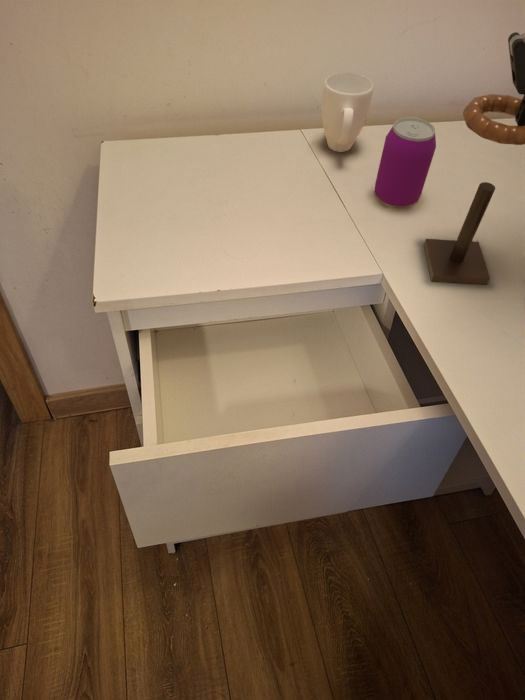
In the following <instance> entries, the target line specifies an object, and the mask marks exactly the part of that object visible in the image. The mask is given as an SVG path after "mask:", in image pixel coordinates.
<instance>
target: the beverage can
mask: <svg viewBox="0 0 525 700" xmlns="http://www.w3.org/2000/svg"><path fill="white" fill-rule="evenodd" d="M436 137H437V136H436V128H435V126H434V125H433V124H432V123H431V122H429V121H428V120H425V119H422V118H418V117H403V118H399V119H397V120H396V121H395V122H394V123H393V125H392V127H391V129H390V130H389V132H388V133H387V134H386V135H385V139H384V144H383V148H382V152H381V157H380V160H379V165H378V170H377V173H376V174H377V175H376V178H375V183H374V195H375V196H376V197H377V198H378V199H379V201H380V202H381V203H383V204H384V205H386V206H387V207H392V208H397V209H400V208H406V207H410V206H412V205H414V204H416V203H417V202H418V201H419V199H420V198H421V195H422V193H423V190H424V187H425V183H426V181H427V178H428V173H429V171H430V168H431V164H432V161H433V158H434V155H435V152H436V148H437V139H436Z"/></svg>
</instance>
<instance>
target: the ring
mask: <svg viewBox="0 0 525 700" xmlns="http://www.w3.org/2000/svg"><path fill="white" fill-rule="evenodd" d="M522 99H523V98H520V97H516V96H513V95H509V94H498V93H497V94H495V93H490V94H486V95H481V96H476V97H474V98H473V99H471V100H470V101H469V103H468V104H467V105H466V106H465V107H464V109H463V111H462V116H463V120H464V123H465V125H466V127H467V128H468V129H469V130H470V131H472V133H475V134H476V135H477V136H479V137H480V138H482V139H485V140H488V141H490V142H494V143H496V144H500V145H513V146H524V145H525V126H517V125H509V124H505V123H501V122H498V121H495V120H493V119H490V118H489V117H488V116H486V115H484V114H486V113H498V114H505V115H509V116H512V117H515V115H516V113H517V111H518V108H519V106H520V104H521V101H522Z"/></svg>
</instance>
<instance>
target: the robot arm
mask: <svg viewBox="0 0 525 700" xmlns="http://www.w3.org/2000/svg"><path fill="white" fill-rule="evenodd" d="M507 43H508V52H509V61H510V71H511V79H512V84H513V86H514V87H515V90H516V91H517V93H518V95H523V97H522V98H521V99H522V101H521V104H520V106H519V108H518V111H517V113H516V115H515V116H514V119H515V120H514V121H515V123H516V126H525V32H523V33H521V34H520V33H519V32H517V31H516V32H512V33H511V34H510V35H509V37H508V38H507Z"/></svg>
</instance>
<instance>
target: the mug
mask: <svg viewBox="0 0 525 700" xmlns="http://www.w3.org/2000/svg"><path fill="white" fill-rule="evenodd" d="M323 83H324V84H323V89H322V98H321V109H320V110H321V111H320V112H321V123H322V126H323V131H324V135H325V140H326V143H327V147H328V148H329V149H330V150H331V151H334V152H337V153H343V152H348V151H350V150H351V148H352V146H353V145H354V143H355V141H356V140H357V138H358V136H359V135H360V133H361V132H362V130H363V128H364V127H365V124H366V122H367V119H368V116H369V113H370V108H371V103H372V99H373V94H374V93H373V92H374V83H373V81H372V80H371V79H370V78H369V77H367V76H366V75H363V74H361V73H356V72H351V71H340V72H334V73H332V74H330V75H328V76H327V77H326V78H325V80H324V82H323Z"/></svg>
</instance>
